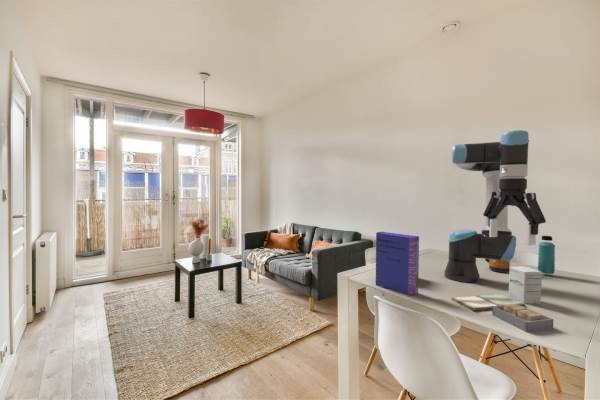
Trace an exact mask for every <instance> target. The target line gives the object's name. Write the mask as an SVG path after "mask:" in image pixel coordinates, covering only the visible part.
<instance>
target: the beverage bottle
mask: <svg viewBox="0 0 600 400" xmlns="http://www.w3.org/2000/svg"><path fill="white" fill-rule="evenodd" d="M541 240H543V241H541V242H539V243H538V258H537V262H538V263H537V270H538V271H541V272H542V274H545V275H546V274H547V275H554V274H555V270H556V269H555V268H556V265H555V263H556V261H555V260H556V258H555V257H556V253H555V252H556V251H555V249H556V244H554V243H553V242H552V241H553V236H552V235H541ZM549 241H550V242H549Z"/></svg>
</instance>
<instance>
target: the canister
mask: <svg viewBox="0 0 600 400" xmlns="http://www.w3.org/2000/svg"><path fill="white" fill-rule="evenodd" d="M484 261H485V262H487V263H488V269H489V270H492V271H493V272H496V273H509V271H510V267H511V260H509V261H505V260H500V261H499V260H492V259H484Z"/></svg>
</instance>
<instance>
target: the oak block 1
mask: <svg viewBox="0 0 600 400" xmlns="http://www.w3.org/2000/svg"><path fill="white" fill-rule="evenodd" d="M525 308H526V307H525ZM525 308H523V307H521V306H518V305H516V304H504V311H505V312H507V313H509V314H512V315H514V316H516V317H518V311H519V310H525Z"/></svg>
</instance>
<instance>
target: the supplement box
mask: <svg viewBox="0 0 600 400" xmlns="http://www.w3.org/2000/svg"><path fill="white" fill-rule="evenodd" d="M508 273H509V276H508V277H509V278H508V296H507V297H508V298H510V299H513V300H515V301H518V302H520V303H523V304H525V305H526V304H536V305H541V302H542V283H543V282H542V280H543V273H542V272H541V271H538V269H534V268H531V267H528V266H510V271H509V272H508Z"/></svg>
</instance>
